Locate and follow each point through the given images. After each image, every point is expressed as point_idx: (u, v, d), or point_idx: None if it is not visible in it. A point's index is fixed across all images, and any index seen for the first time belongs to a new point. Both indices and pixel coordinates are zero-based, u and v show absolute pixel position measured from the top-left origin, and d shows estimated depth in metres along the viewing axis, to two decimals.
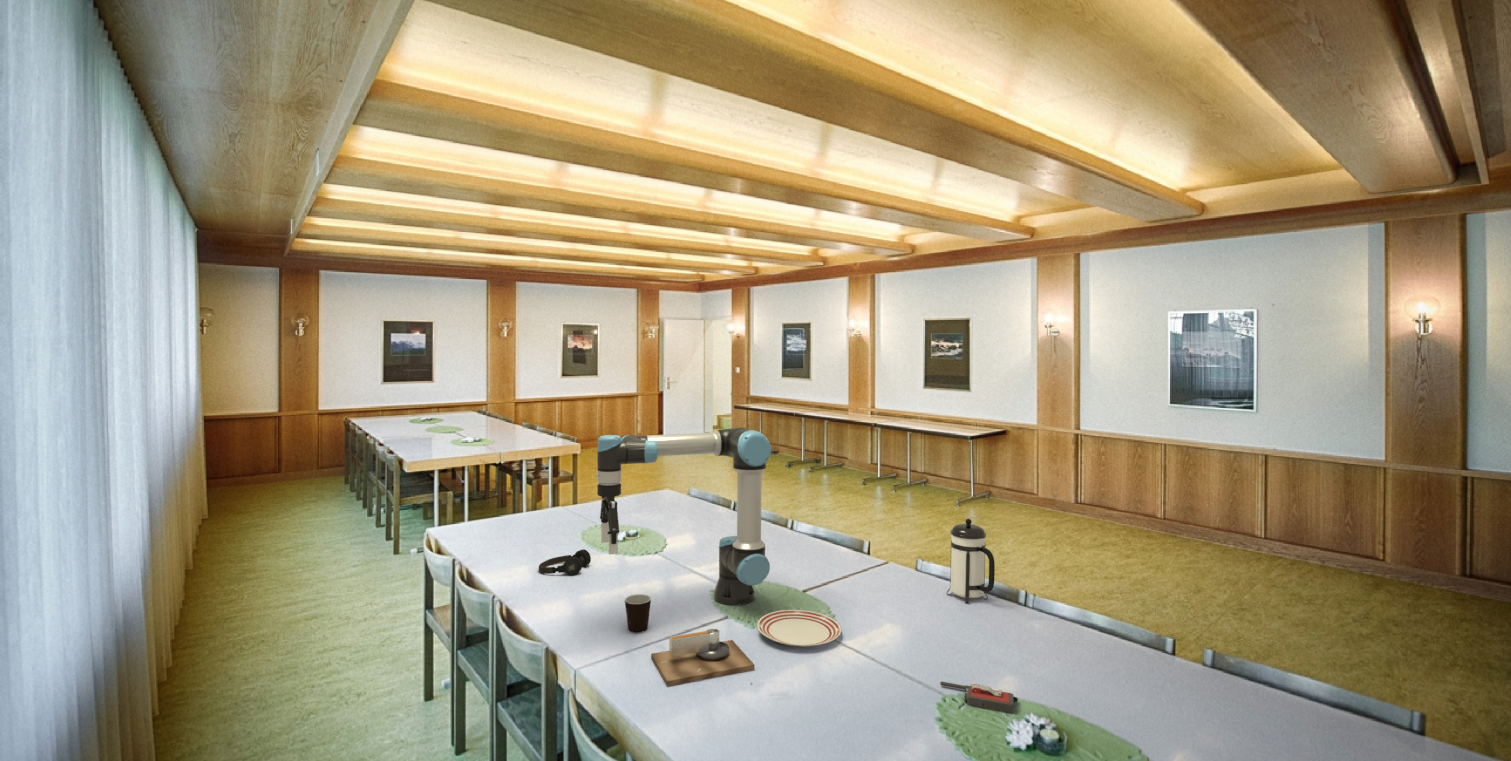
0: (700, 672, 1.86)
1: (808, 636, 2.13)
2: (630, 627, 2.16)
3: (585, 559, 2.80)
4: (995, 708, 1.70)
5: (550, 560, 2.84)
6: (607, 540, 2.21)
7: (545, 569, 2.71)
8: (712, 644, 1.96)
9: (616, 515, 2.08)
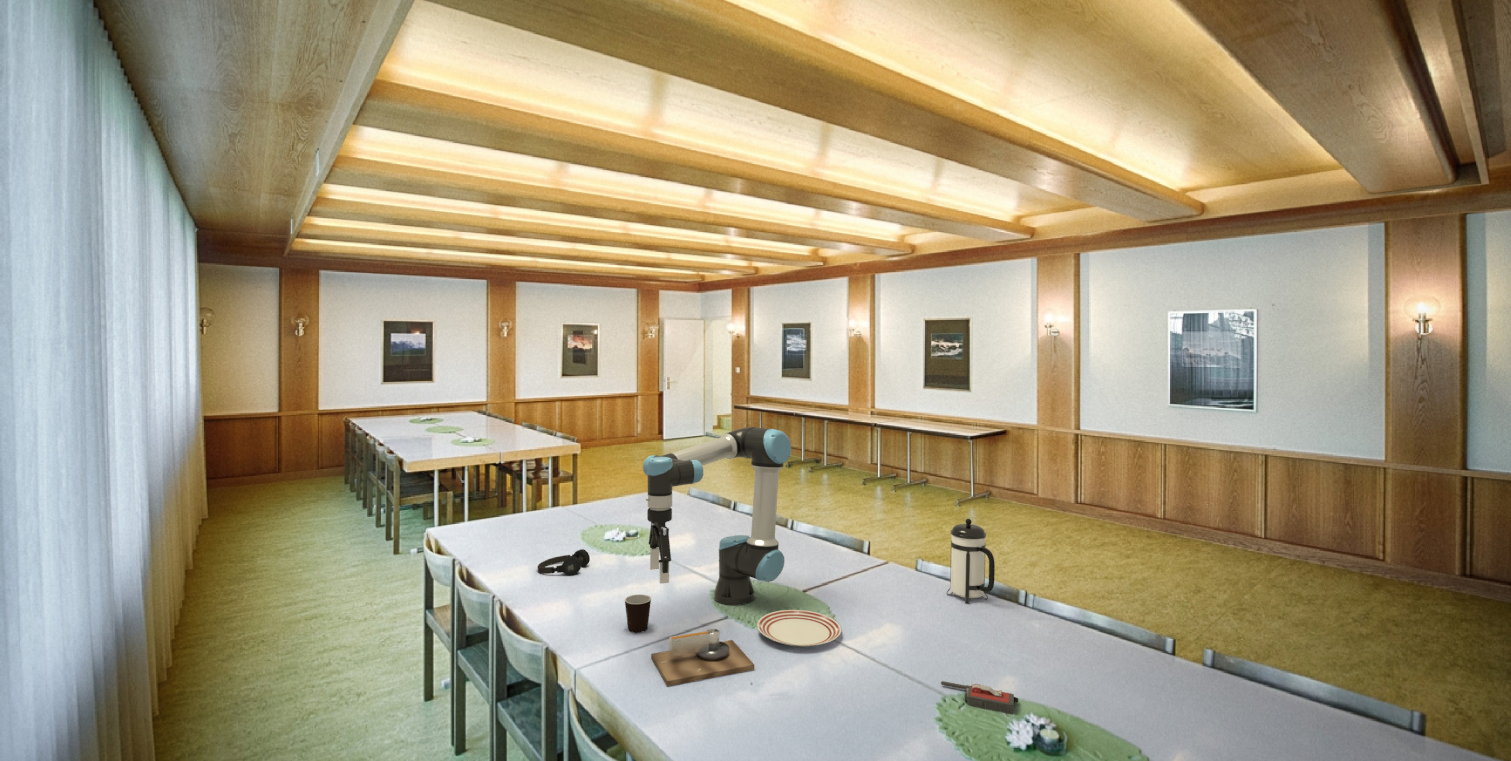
0: (700, 672, 1.86)
1: (808, 636, 2.13)
2: (630, 627, 2.16)
3: (584, 559, 2.80)
4: (995, 708, 1.70)
5: (549, 560, 2.84)
6: (656, 567, 2.11)
7: (544, 569, 2.71)
8: (712, 644, 1.96)
9: (668, 542, 1.97)
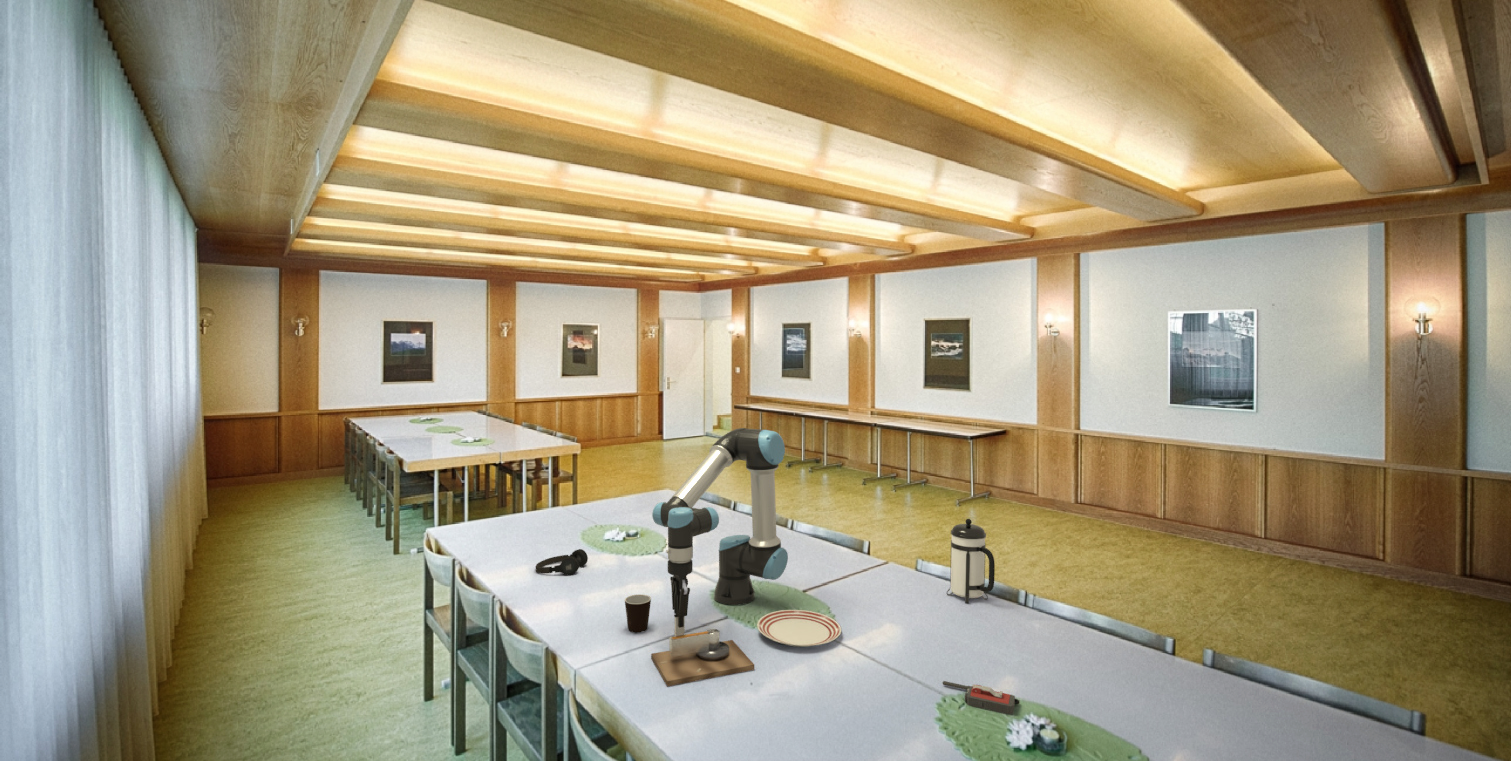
0: (700, 672, 1.86)
1: (808, 636, 2.13)
2: (630, 627, 2.16)
3: (582, 559, 2.80)
4: (995, 709, 1.70)
5: (547, 560, 2.84)
6: None
7: (542, 569, 2.71)
8: (712, 644, 1.96)
9: (687, 601, 1.97)
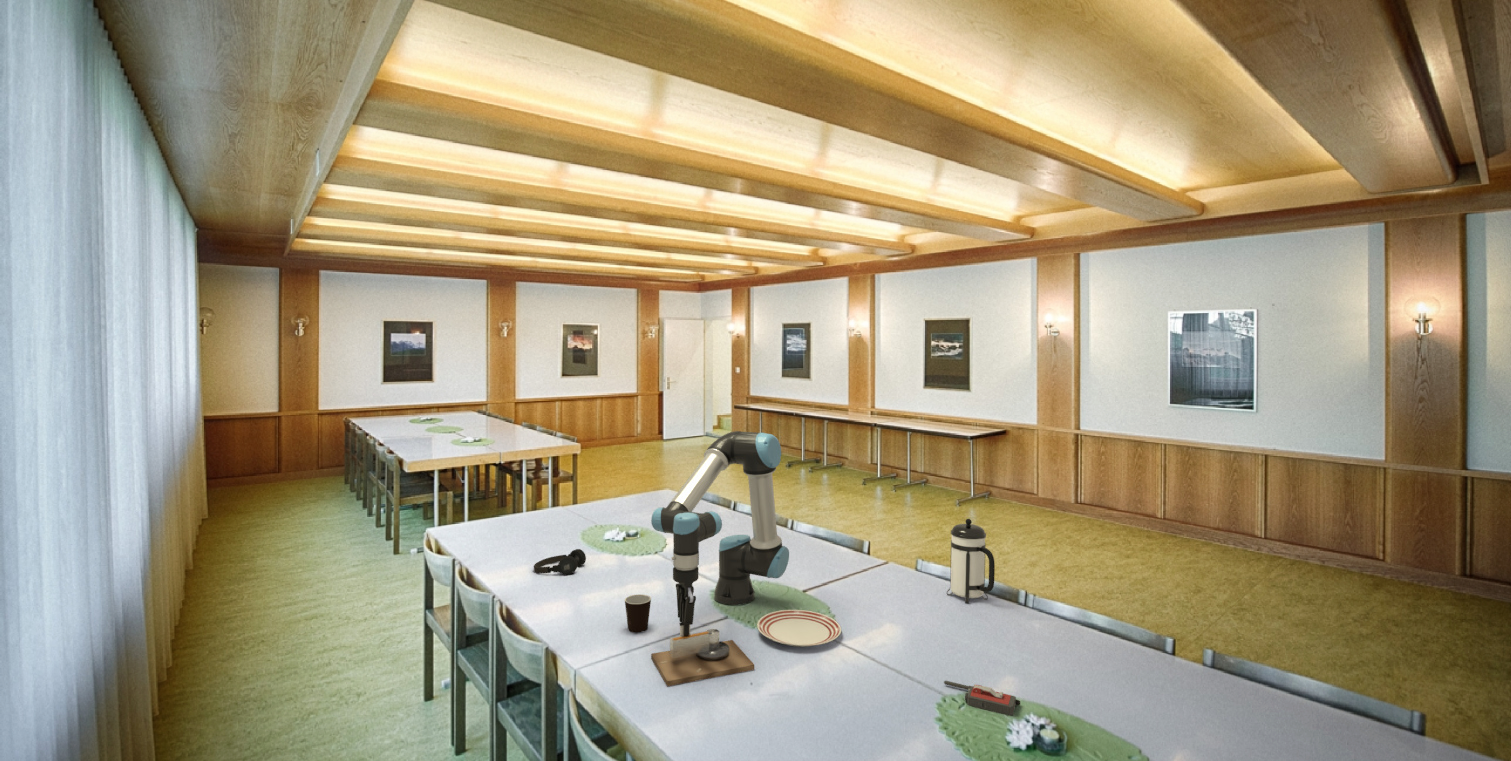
0: (700, 672, 1.86)
1: (808, 636, 2.13)
2: (630, 627, 2.16)
3: (580, 559, 2.81)
4: (995, 709, 1.70)
5: (545, 560, 2.85)
6: None
7: (540, 569, 2.72)
8: (712, 644, 1.96)
9: (692, 609, 1.91)
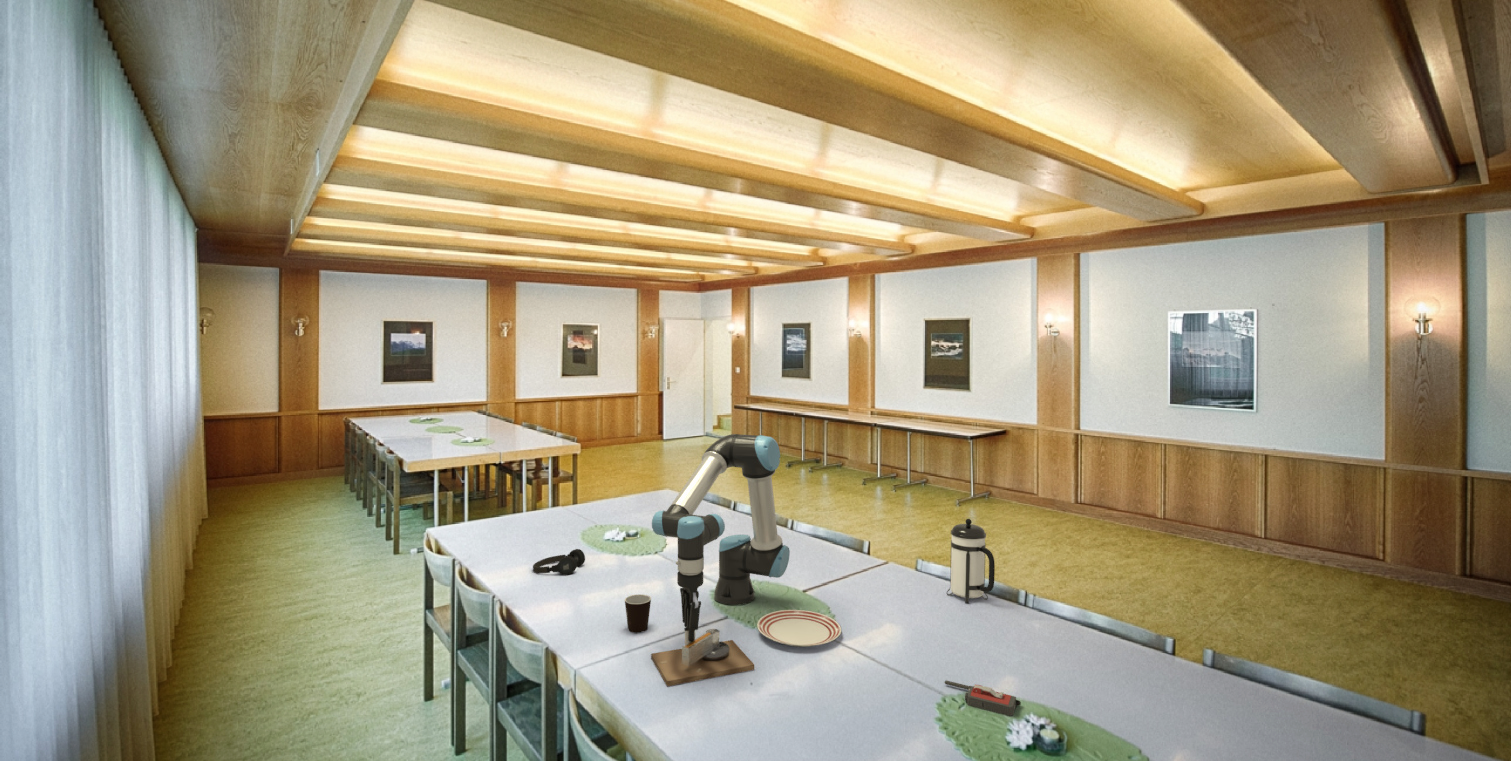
0: (700, 672, 1.86)
1: (808, 636, 2.13)
2: (630, 627, 2.16)
3: (579, 559, 2.81)
4: (995, 709, 1.70)
5: (544, 560, 2.85)
6: None
7: (539, 569, 2.72)
8: (716, 643, 1.96)
9: (697, 614, 1.88)
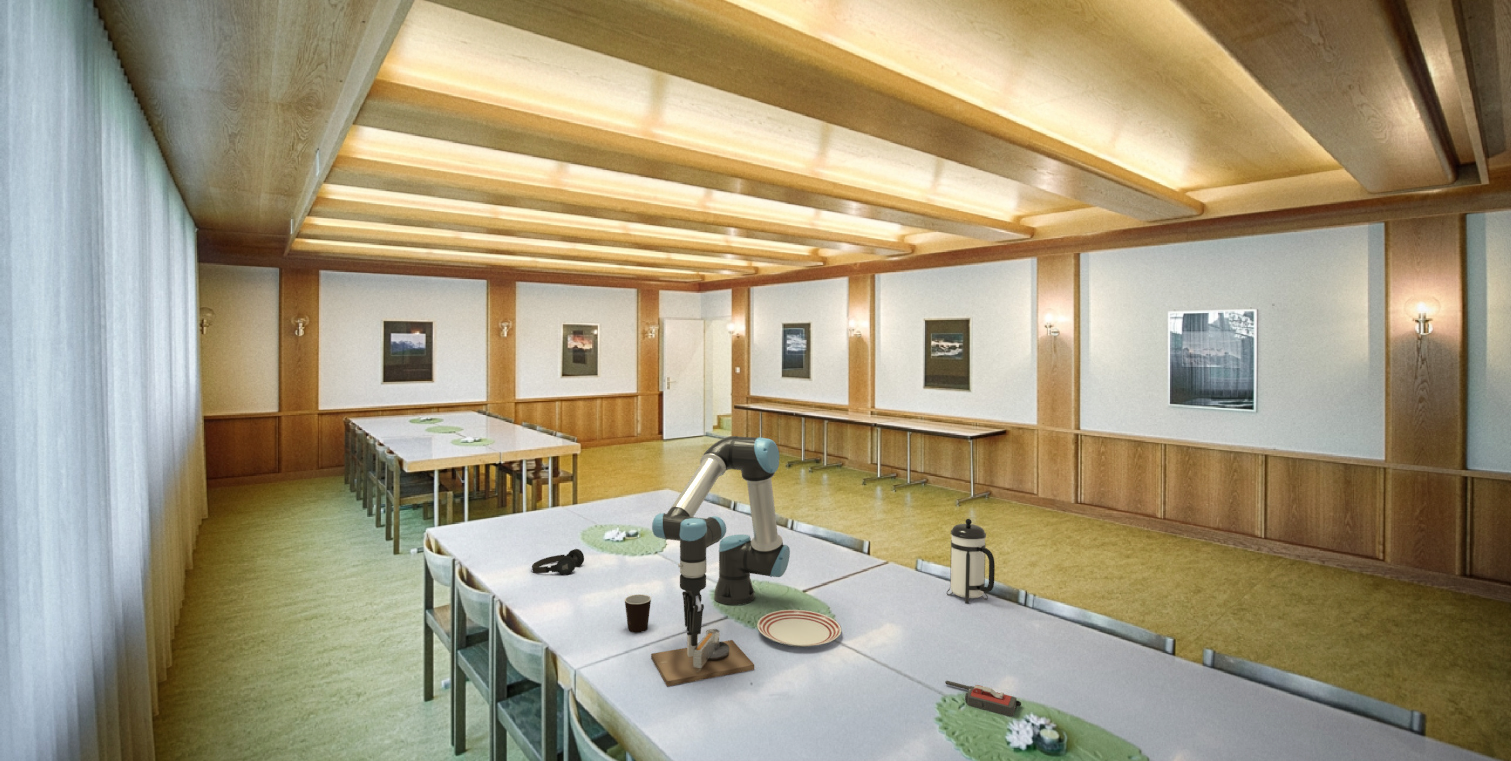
0: (700, 672, 1.86)
1: (808, 636, 2.13)
2: (630, 627, 2.16)
3: (578, 558, 2.81)
4: (995, 710, 1.69)
5: (543, 560, 2.85)
6: None
7: (538, 569, 2.72)
8: (717, 643, 1.97)
9: (700, 618, 1.85)
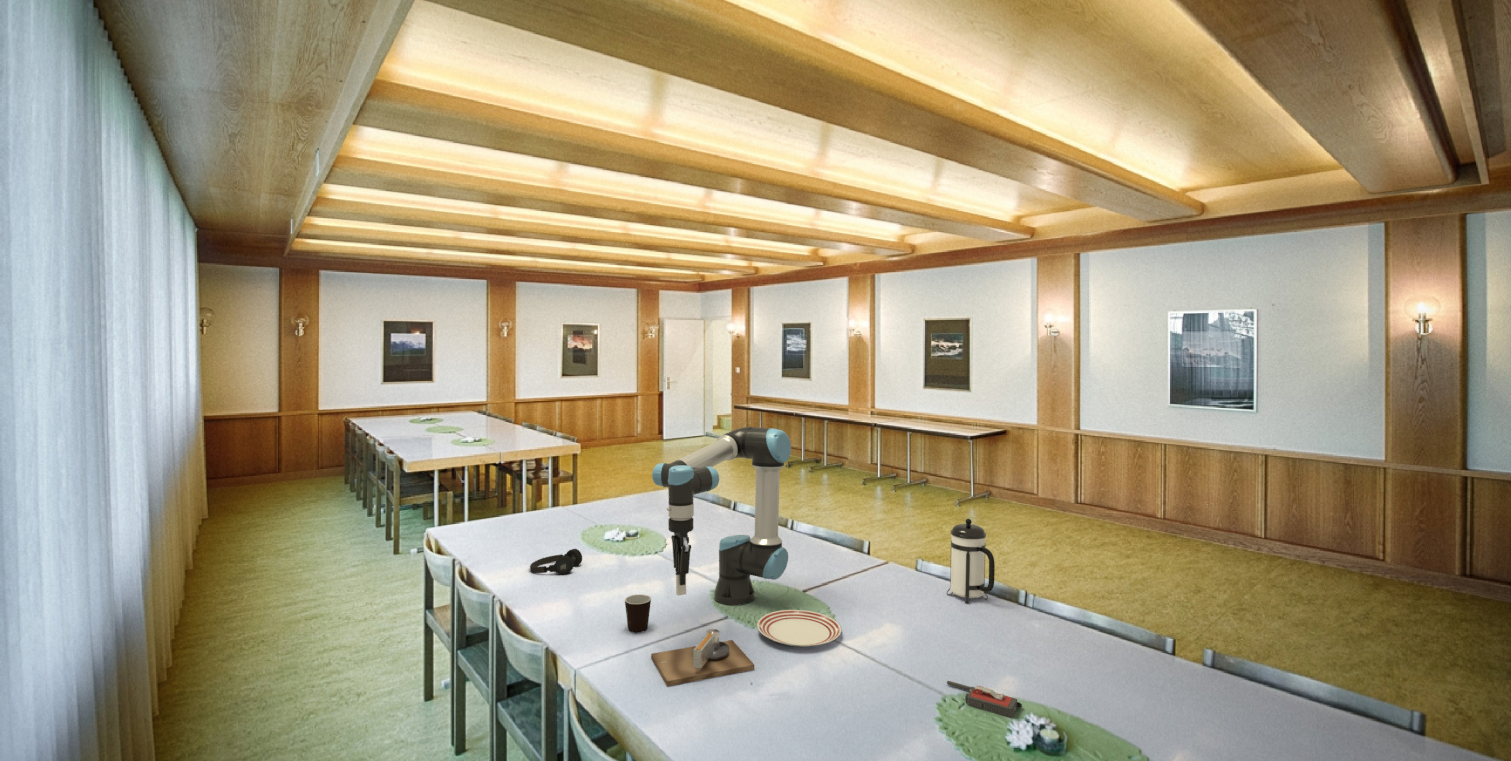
0: (700, 672, 1.86)
1: (808, 636, 2.13)
2: (630, 627, 2.16)
3: (576, 558, 2.81)
4: (994, 711, 1.69)
5: (541, 559, 2.85)
6: None
7: (536, 568, 2.72)
8: (717, 643, 1.97)
9: (688, 558, 1.96)
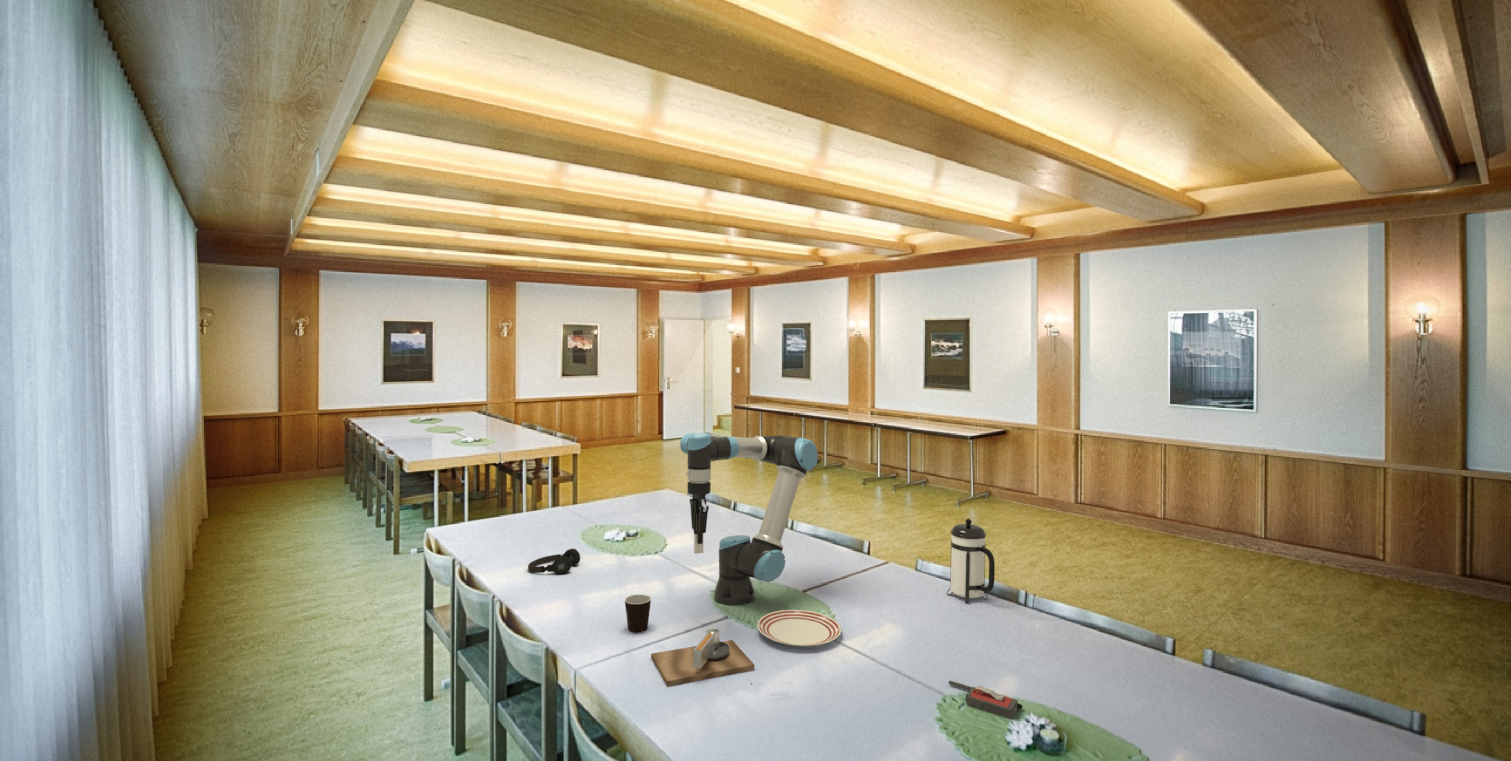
0: (700, 672, 1.86)
1: (808, 636, 2.13)
2: (630, 627, 2.16)
3: (574, 558, 2.81)
4: (994, 711, 1.69)
5: (539, 559, 2.85)
6: None
7: (534, 568, 2.72)
8: (717, 643, 1.97)
9: (705, 518, 2.11)
